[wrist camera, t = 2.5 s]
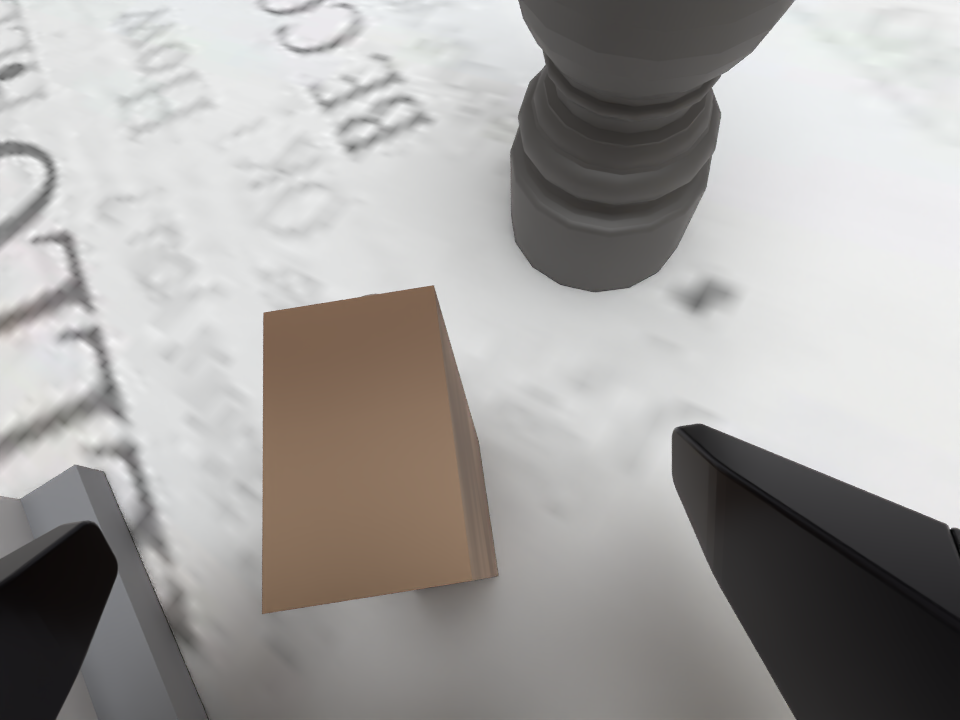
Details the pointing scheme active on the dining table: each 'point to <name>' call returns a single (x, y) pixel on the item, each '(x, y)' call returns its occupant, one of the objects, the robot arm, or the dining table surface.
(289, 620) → the dining table surface
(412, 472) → the brown wooden block
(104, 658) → the grey long channel piece
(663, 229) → the candle holder
